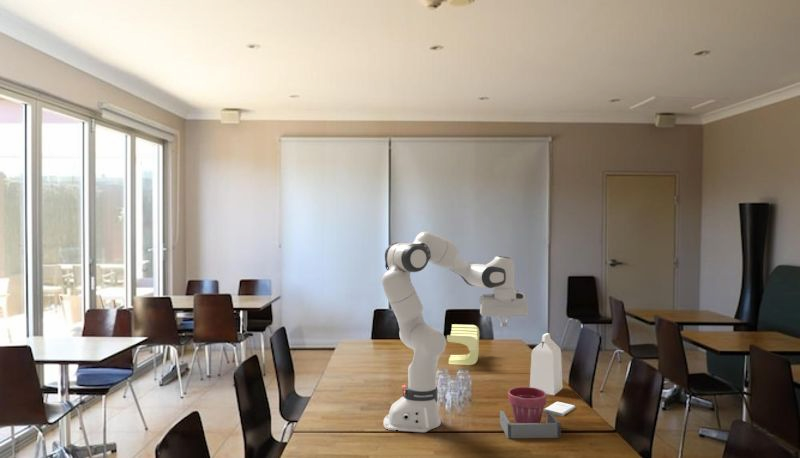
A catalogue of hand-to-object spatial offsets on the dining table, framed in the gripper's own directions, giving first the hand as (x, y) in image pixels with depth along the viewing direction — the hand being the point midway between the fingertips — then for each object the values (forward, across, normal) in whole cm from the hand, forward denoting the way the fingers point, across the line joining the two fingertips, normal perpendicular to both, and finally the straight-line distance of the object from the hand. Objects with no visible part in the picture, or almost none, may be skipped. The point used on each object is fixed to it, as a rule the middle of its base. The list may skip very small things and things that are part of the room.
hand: (504, 326), depth 224 cm
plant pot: (+34, +4, -21) cm, 41 cm away
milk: (+34, +24, +21) cm, 47 cm away
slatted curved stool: (+34, -8, +71) cm, 79 cm away
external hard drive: (+35, +22, -5) cm, 42 cm away
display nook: (+34, +4, -26) cm, 43 cm away
